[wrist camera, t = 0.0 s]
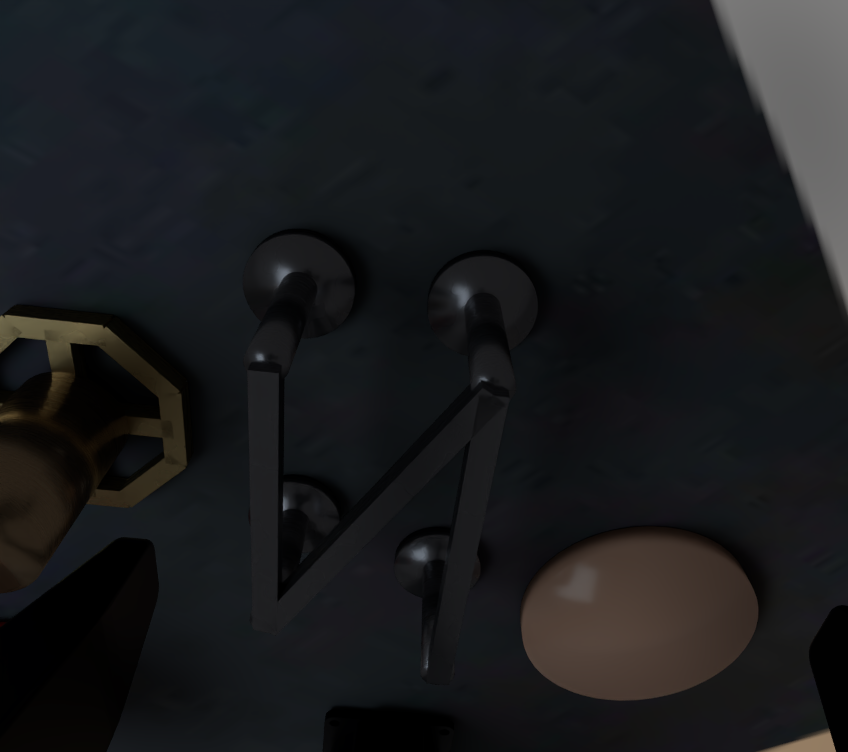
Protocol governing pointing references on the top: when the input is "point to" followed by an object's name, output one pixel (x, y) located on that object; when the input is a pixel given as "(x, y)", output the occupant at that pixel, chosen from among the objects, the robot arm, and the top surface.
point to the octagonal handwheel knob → (77, 434)
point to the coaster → (637, 613)
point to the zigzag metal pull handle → (456, 427)
